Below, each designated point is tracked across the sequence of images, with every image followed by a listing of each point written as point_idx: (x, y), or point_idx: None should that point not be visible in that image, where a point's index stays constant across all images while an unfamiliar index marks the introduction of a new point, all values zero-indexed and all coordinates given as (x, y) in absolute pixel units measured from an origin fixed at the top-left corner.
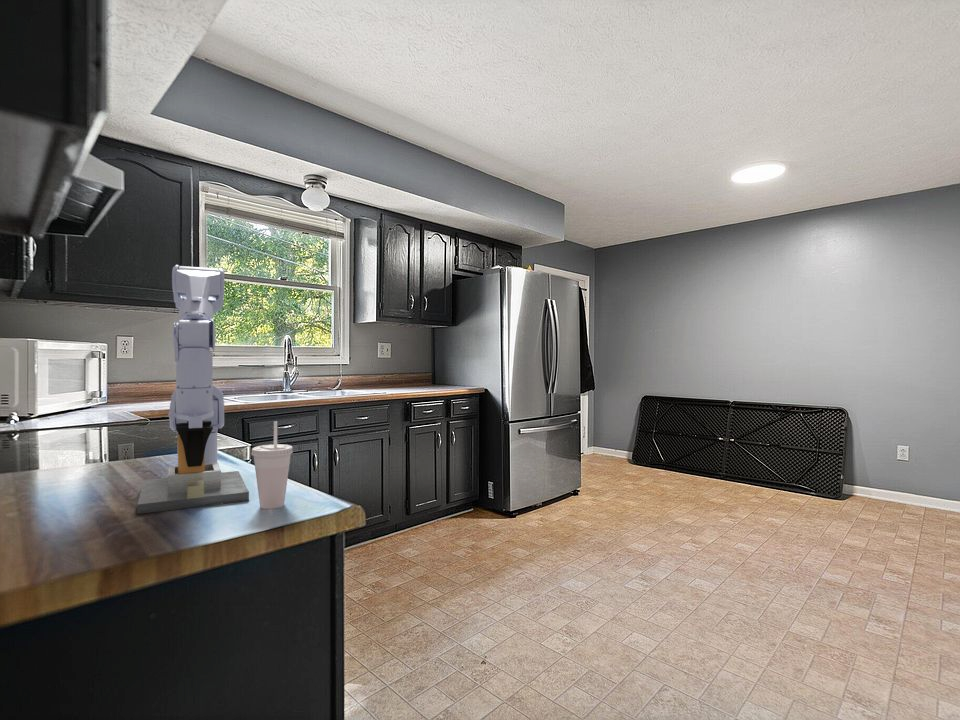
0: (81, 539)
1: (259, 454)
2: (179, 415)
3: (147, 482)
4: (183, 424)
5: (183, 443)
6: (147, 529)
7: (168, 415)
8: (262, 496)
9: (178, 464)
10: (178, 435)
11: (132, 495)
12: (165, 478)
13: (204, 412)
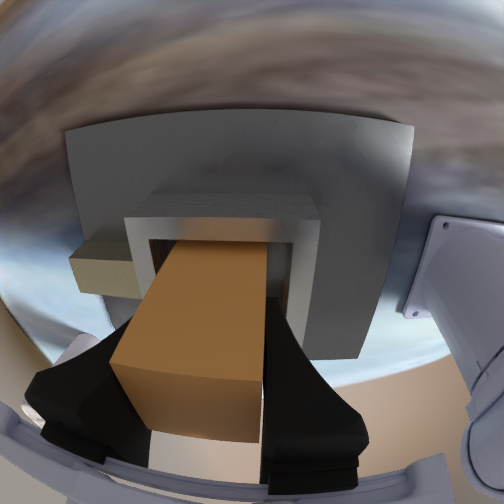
0: None
1: (23, 400)
2: (49, 479)
3: (365, 131)
4: (272, 454)
5: (88, 349)
6: (3, 171)
7: (81, 487)
8: (67, 348)
9: (162, 269)
10: (179, 377)
11: (313, 83)
12: (395, 190)
13: None
